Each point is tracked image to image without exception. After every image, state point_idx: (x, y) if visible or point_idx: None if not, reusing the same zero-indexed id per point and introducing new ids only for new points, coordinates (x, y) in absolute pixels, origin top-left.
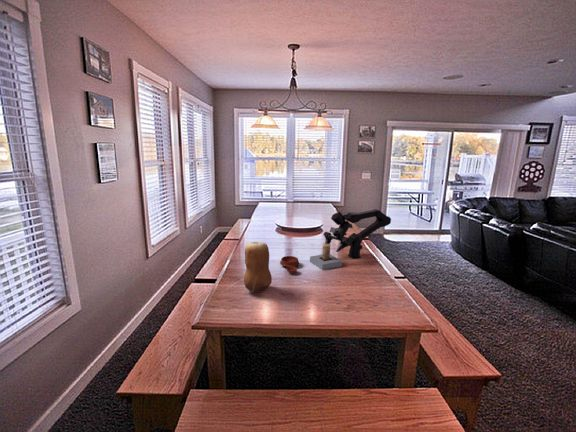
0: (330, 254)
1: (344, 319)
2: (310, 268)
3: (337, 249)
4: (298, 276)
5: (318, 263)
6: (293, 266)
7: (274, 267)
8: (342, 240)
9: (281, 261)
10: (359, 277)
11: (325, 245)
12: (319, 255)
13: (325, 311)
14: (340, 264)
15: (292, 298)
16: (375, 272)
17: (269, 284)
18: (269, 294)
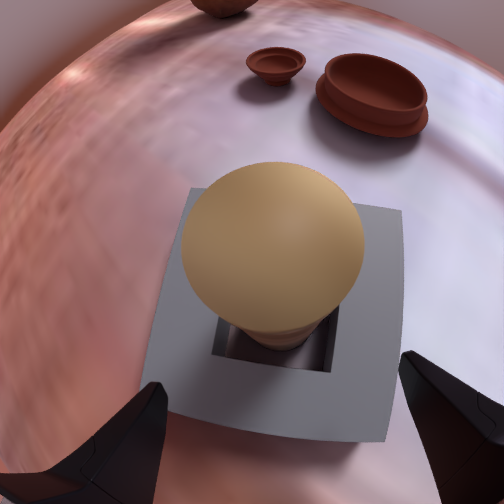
0: (349, 440)
1: (19, 117)
2: None
3: (133, 402)
4: (228, 85)
5: None
6: (294, 69)
7: None
8: None
9: (380, 66)
10: (21, 330)
11: (245, 182)
12: (390, 309)
13: (52, 95)
14: None
15: (136, 51)
16: (19, 451)
17: (193, 4)
18: (193, 24)
